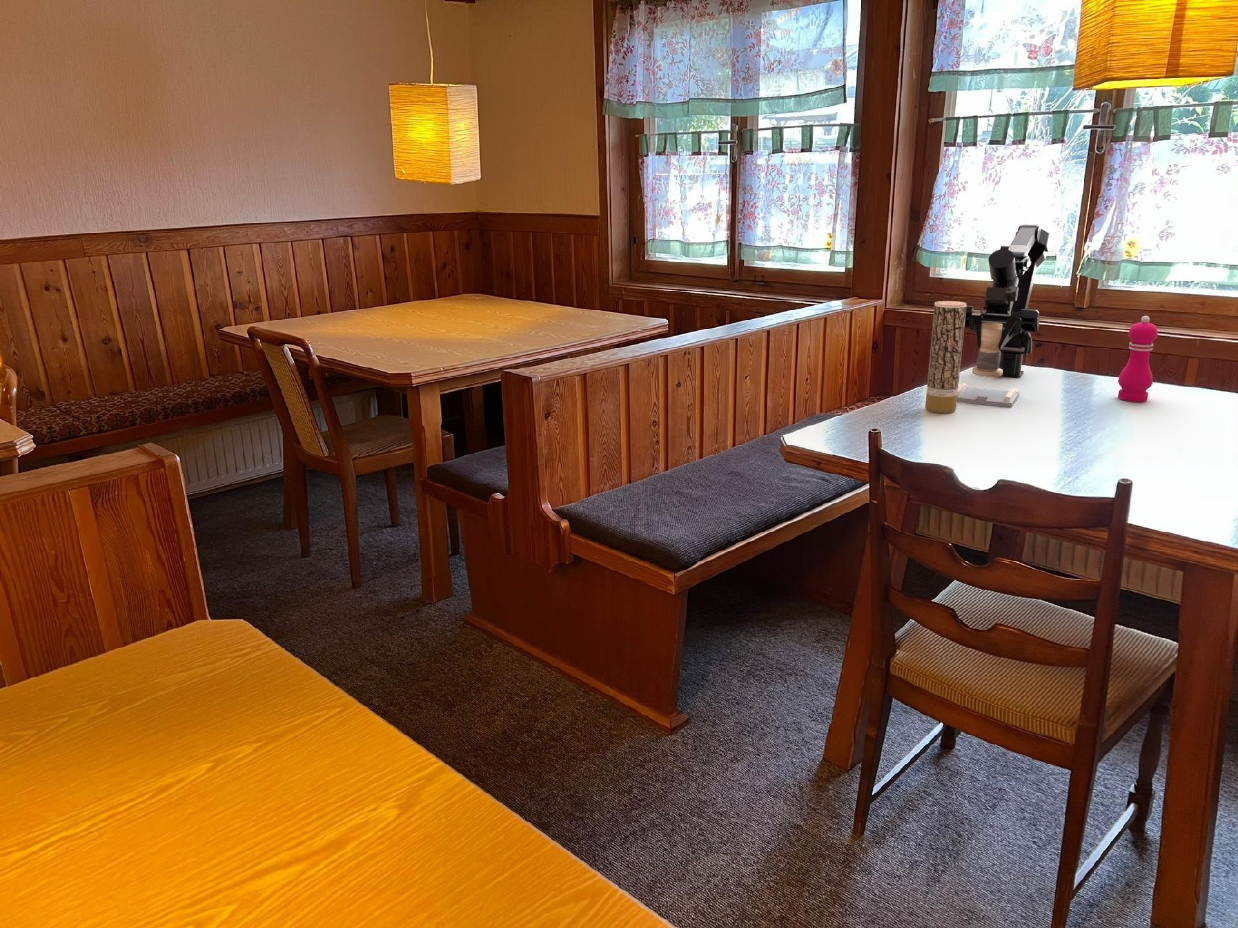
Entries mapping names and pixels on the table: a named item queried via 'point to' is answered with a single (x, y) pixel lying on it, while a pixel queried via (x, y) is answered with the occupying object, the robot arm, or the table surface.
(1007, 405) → the board
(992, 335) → the bobbin
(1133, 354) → the pepper mill
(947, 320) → the wooden log
